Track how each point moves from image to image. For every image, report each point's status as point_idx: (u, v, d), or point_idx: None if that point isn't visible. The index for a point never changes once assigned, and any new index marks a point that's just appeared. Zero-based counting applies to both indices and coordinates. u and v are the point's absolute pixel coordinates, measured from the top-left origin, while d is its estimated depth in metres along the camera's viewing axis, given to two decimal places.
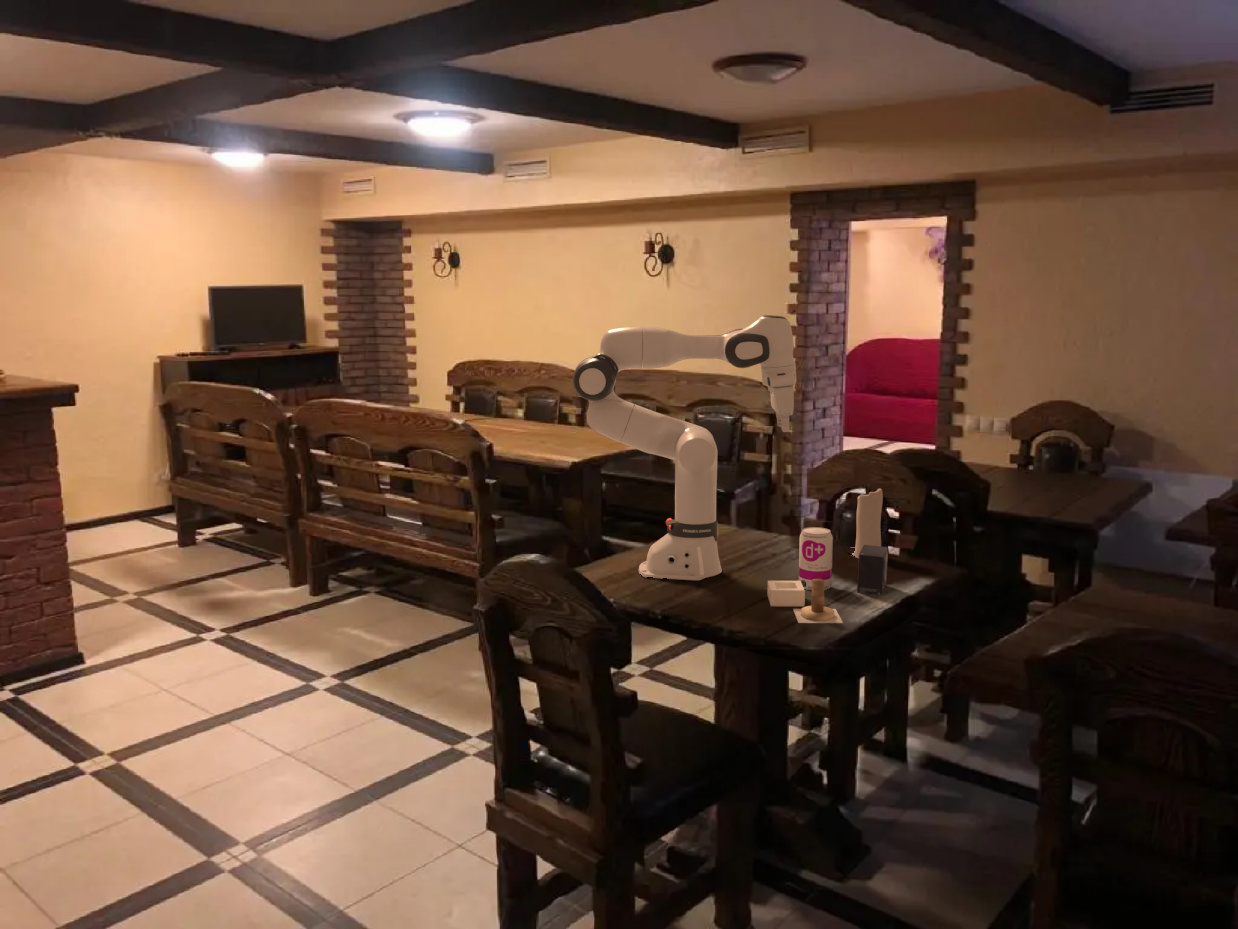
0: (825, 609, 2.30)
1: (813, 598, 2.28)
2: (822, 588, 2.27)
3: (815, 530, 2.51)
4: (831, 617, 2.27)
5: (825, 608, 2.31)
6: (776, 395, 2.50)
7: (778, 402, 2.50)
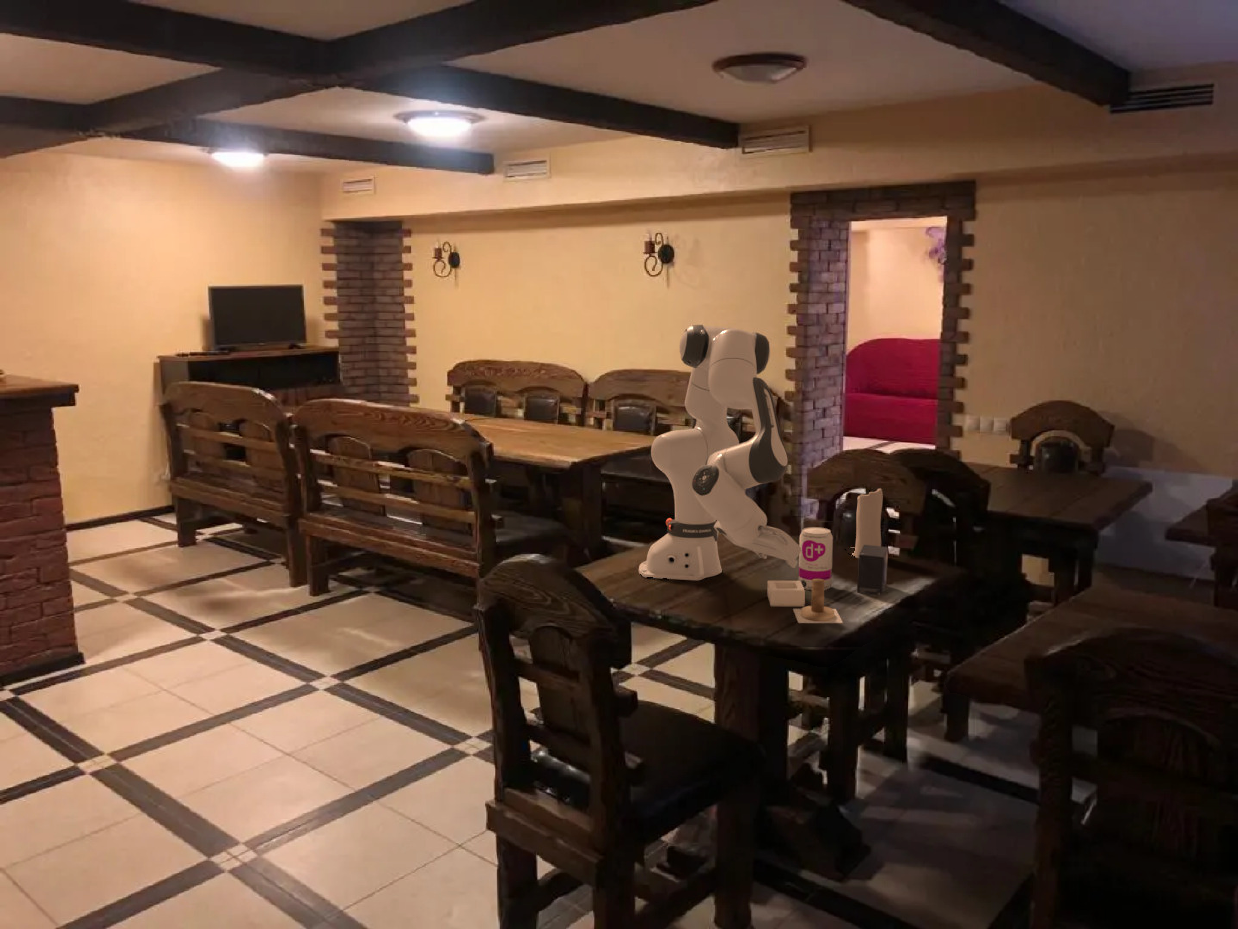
0: (825, 609, 2.30)
1: (813, 598, 2.28)
2: (822, 588, 2.27)
3: (815, 530, 2.51)
4: (831, 617, 2.27)
5: (825, 608, 2.31)
6: None
7: None
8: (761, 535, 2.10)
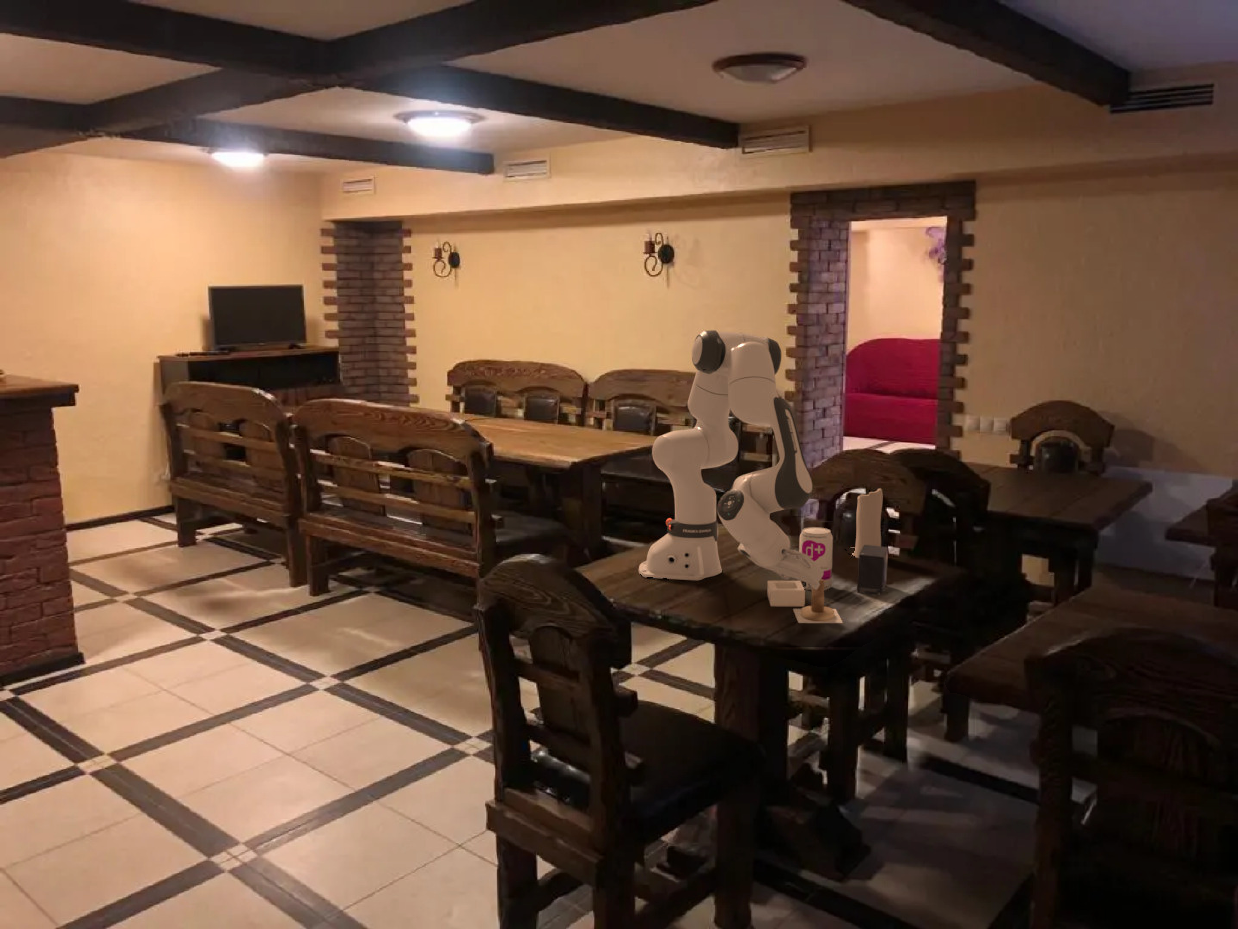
0: (825, 609, 2.30)
1: (813, 598, 2.28)
2: (822, 588, 2.27)
3: (815, 530, 2.51)
4: (831, 617, 2.27)
5: (825, 608, 2.31)
6: None
7: None
8: (784, 558, 2.15)
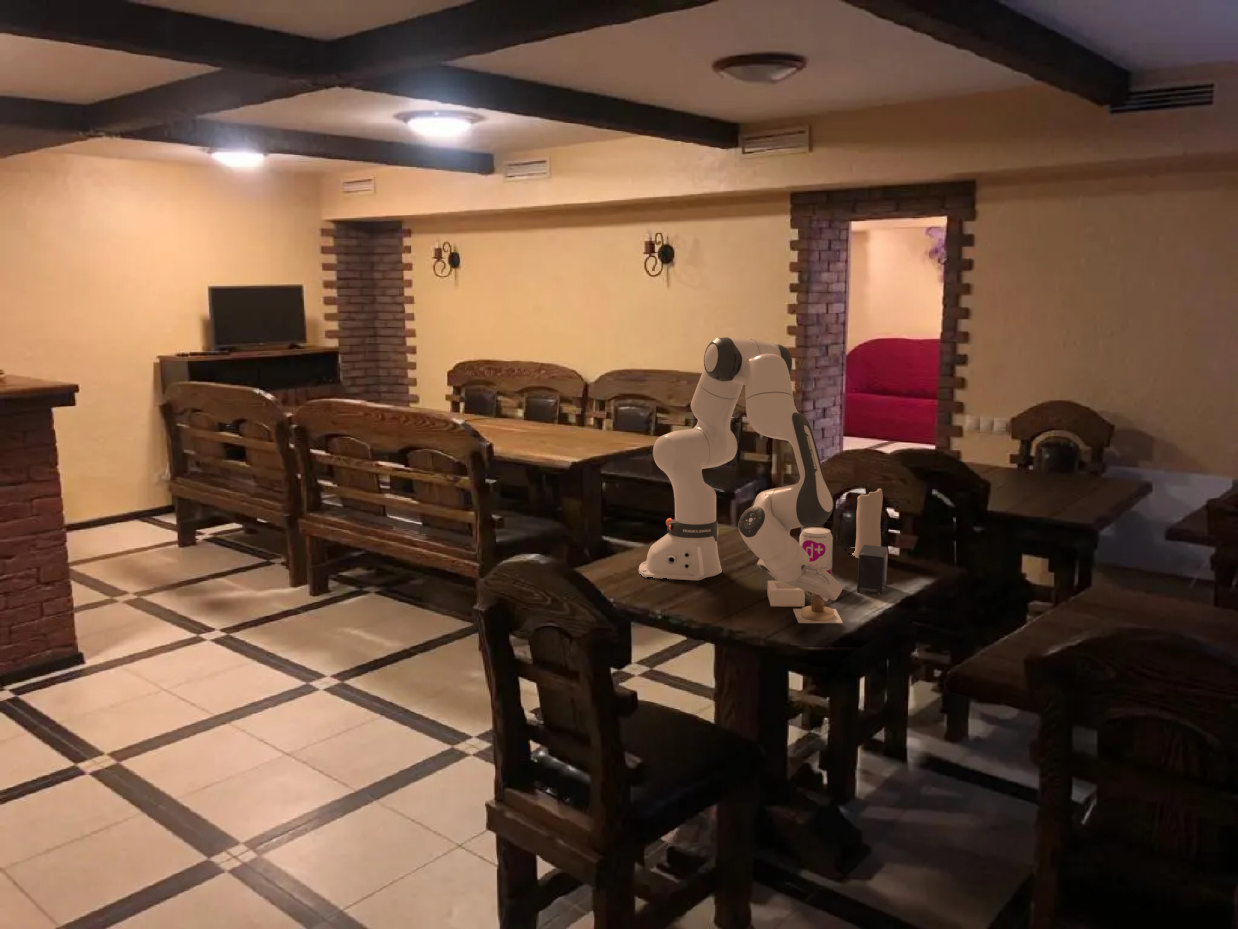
0: (825, 609, 2.30)
1: (813, 598, 2.28)
2: None
3: (815, 530, 2.51)
4: (831, 617, 2.27)
5: (825, 608, 2.31)
6: None
7: None
8: (804, 574, 2.19)
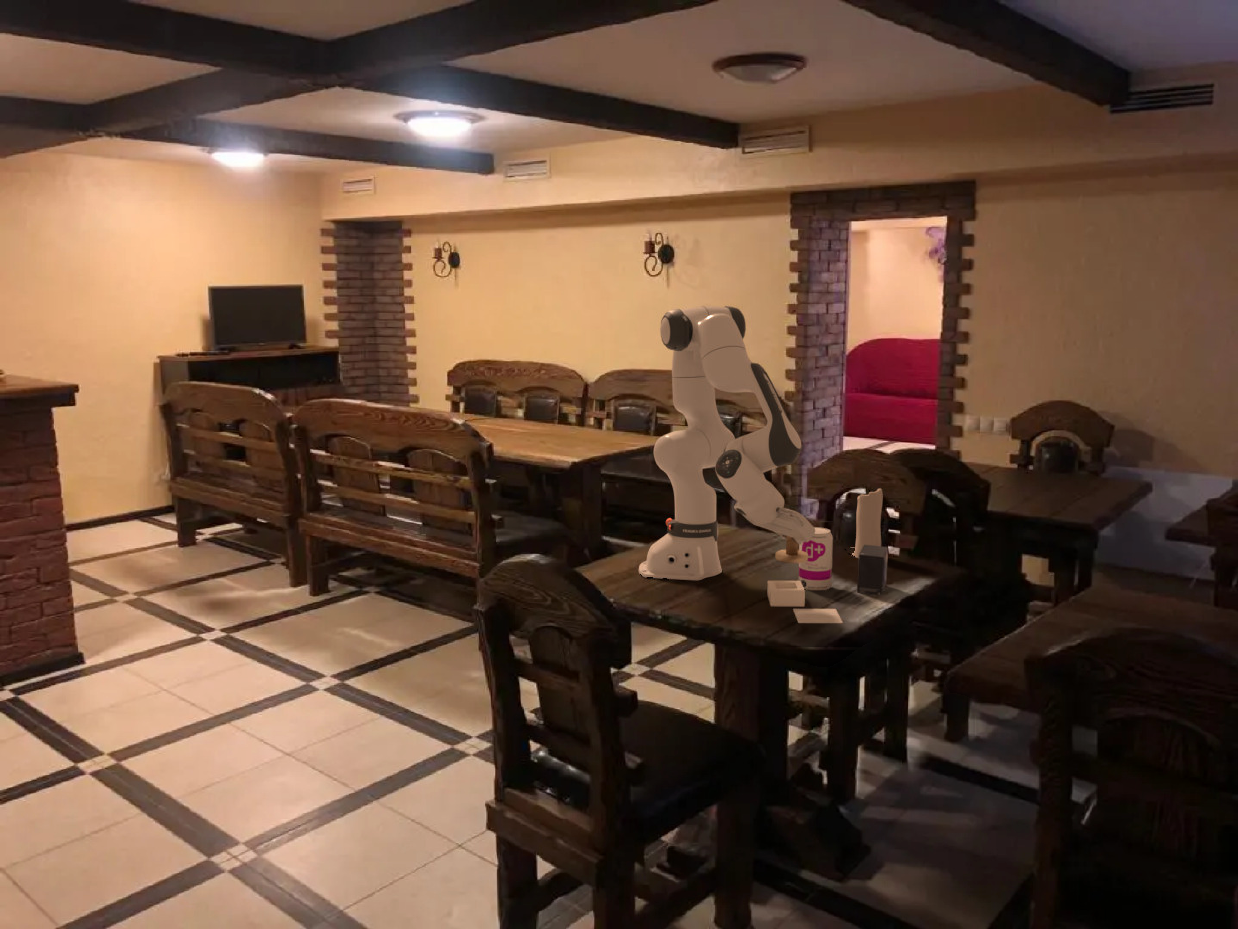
0: (799, 552, 2.37)
1: (788, 541, 2.35)
2: None
3: (815, 530, 2.51)
4: (804, 560, 2.34)
5: (799, 551, 2.38)
6: None
7: None
8: (778, 516, 2.26)
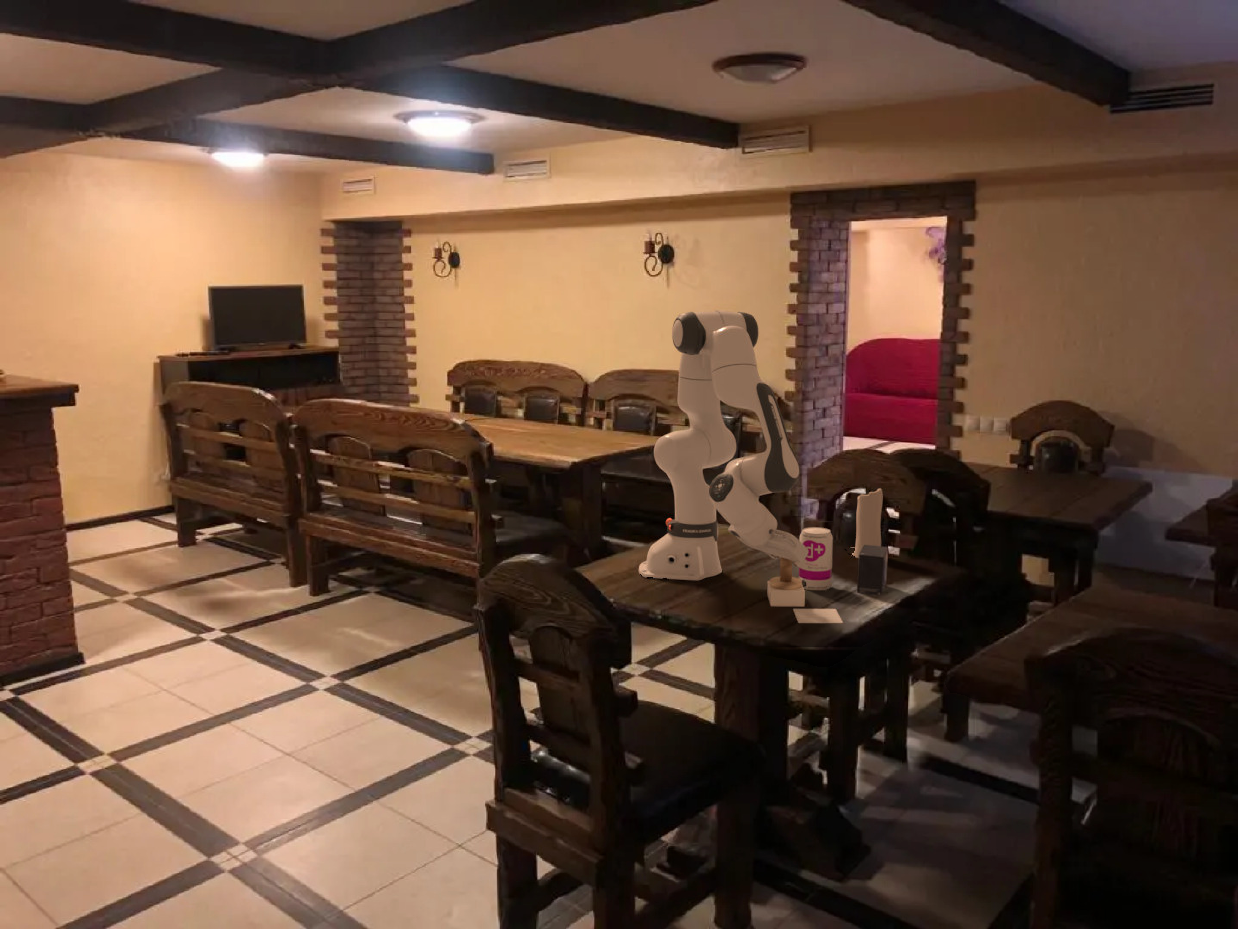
0: (793, 579, 2.40)
1: (781, 568, 2.38)
2: None
3: (815, 530, 2.51)
4: (798, 586, 2.37)
5: (793, 578, 2.41)
6: None
7: None
8: (772, 538, 2.29)
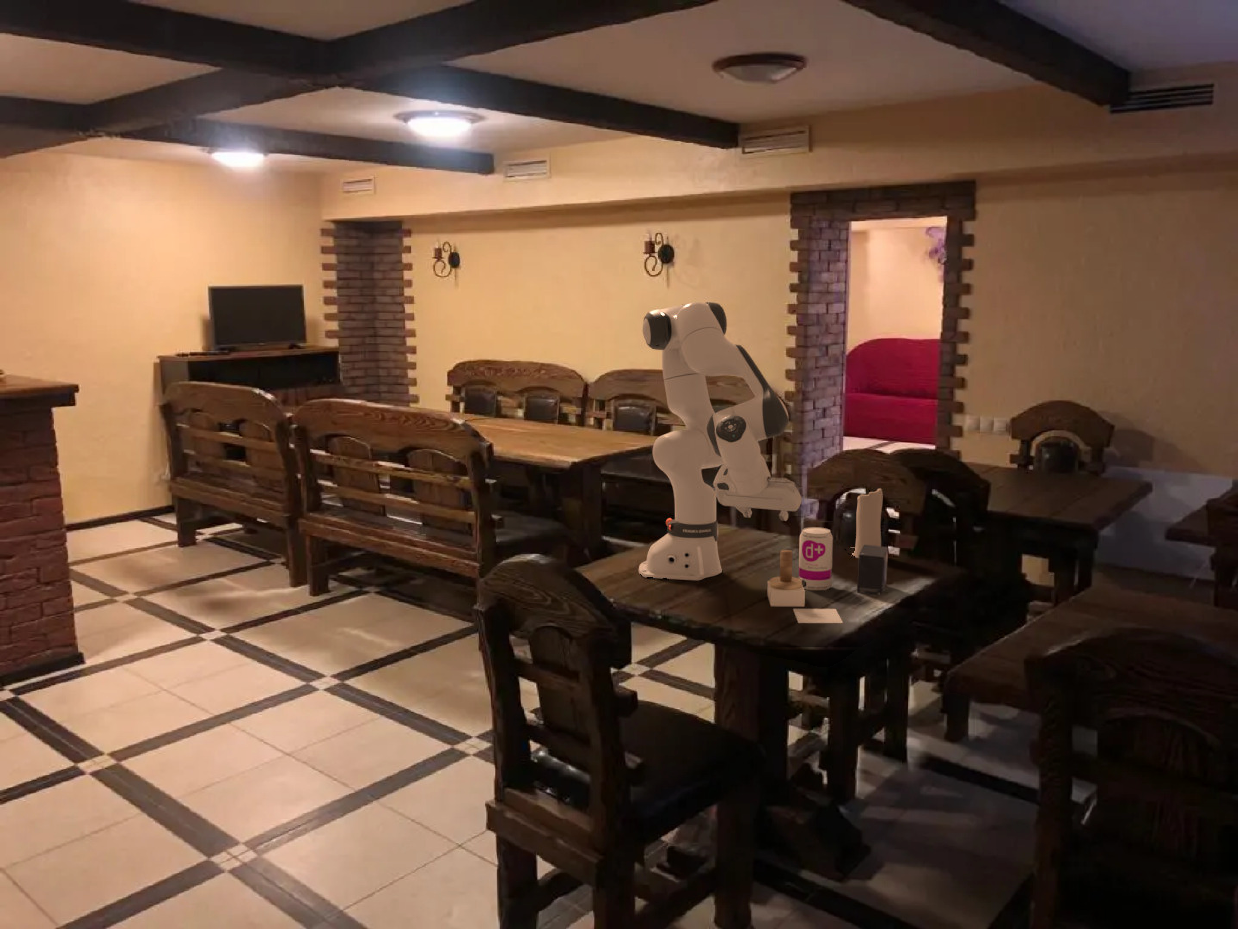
0: (793, 579, 2.40)
1: (781, 568, 2.38)
2: (790, 559, 2.38)
3: (815, 530, 2.51)
4: (798, 586, 2.37)
5: (793, 578, 2.41)
6: None
7: None
8: (769, 486, 2.26)
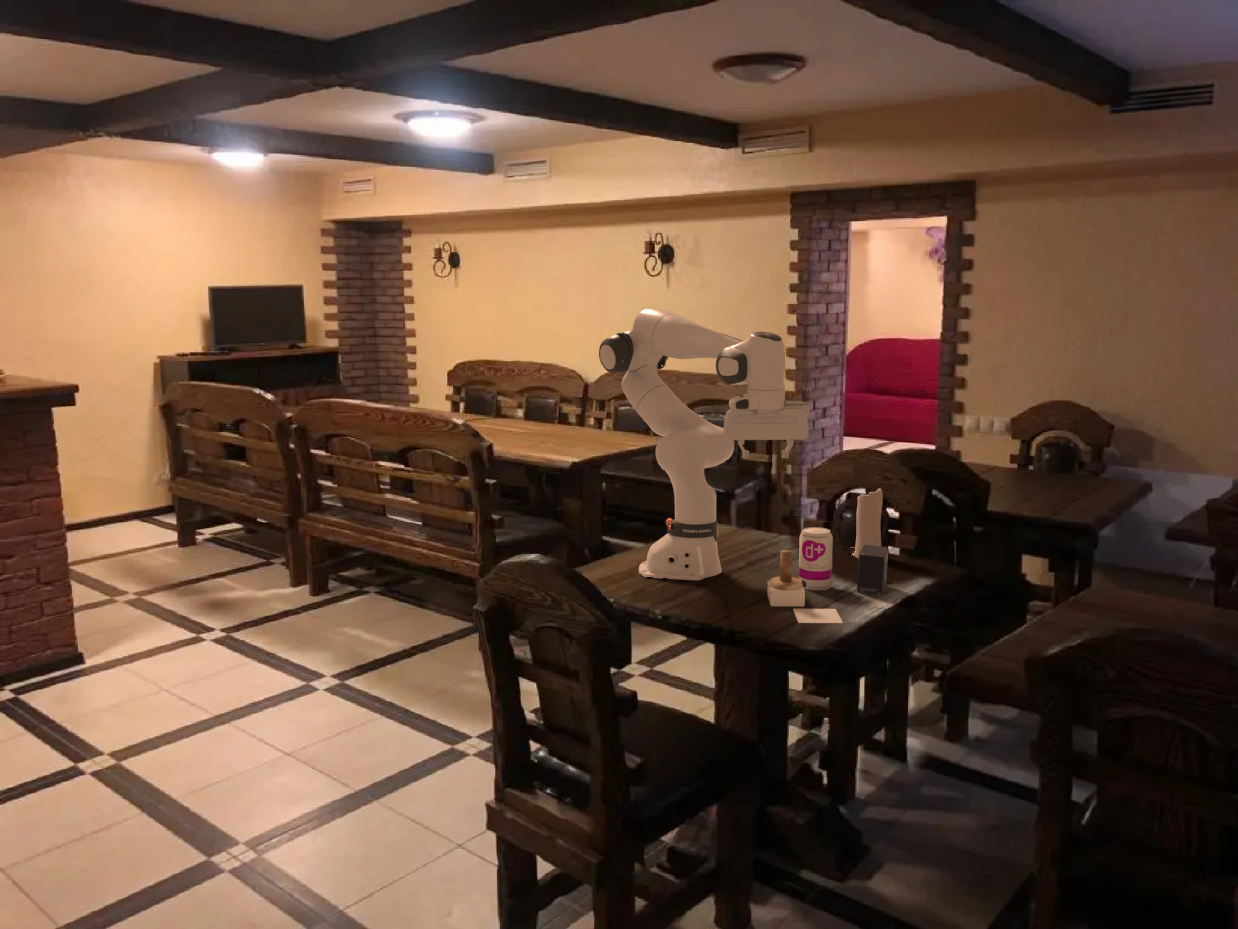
0: (793, 579, 2.40)
1: (781, 568, 2.38)
2: (790, 559, 2.38)
3: (815, 530, 2.51)
4: (798, 586, 2.37)
5: (793, 578, 2.41)
6: None
7: None
8: (785, 408, 2.35)
